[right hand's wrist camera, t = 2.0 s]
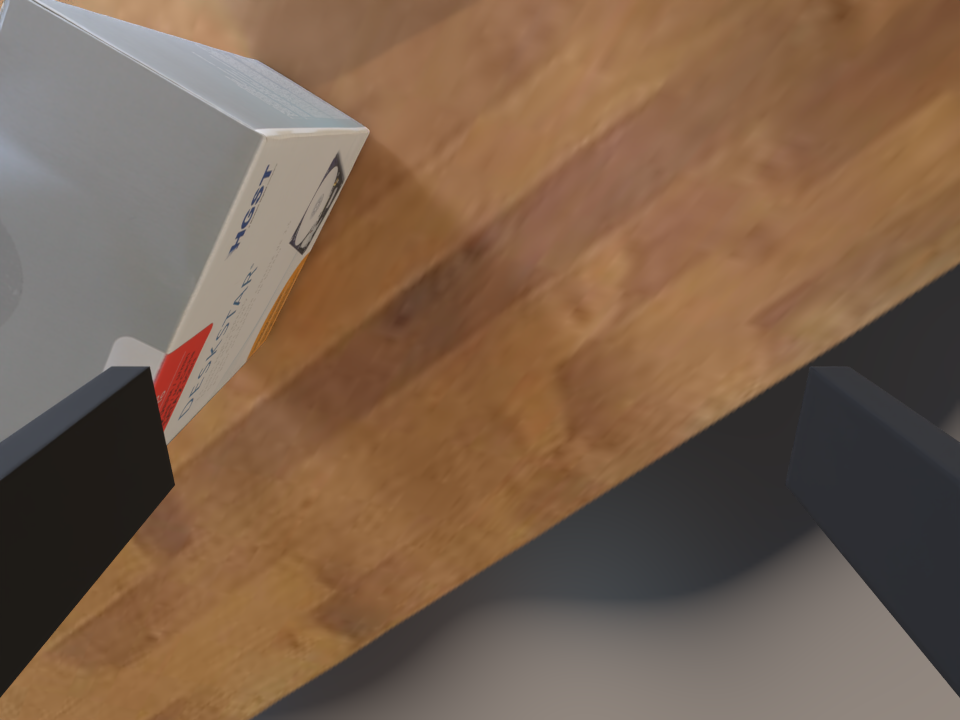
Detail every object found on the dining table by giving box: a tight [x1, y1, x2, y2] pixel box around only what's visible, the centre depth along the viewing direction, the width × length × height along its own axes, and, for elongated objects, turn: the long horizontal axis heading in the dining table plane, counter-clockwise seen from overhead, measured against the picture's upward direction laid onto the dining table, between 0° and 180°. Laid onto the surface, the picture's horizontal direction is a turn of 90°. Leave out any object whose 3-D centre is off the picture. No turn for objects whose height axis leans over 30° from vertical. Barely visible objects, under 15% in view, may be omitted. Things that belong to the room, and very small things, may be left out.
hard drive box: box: [0, 0, 370, 445], centre depth 28 cm, size 16×8×20 cm, turn 149°
